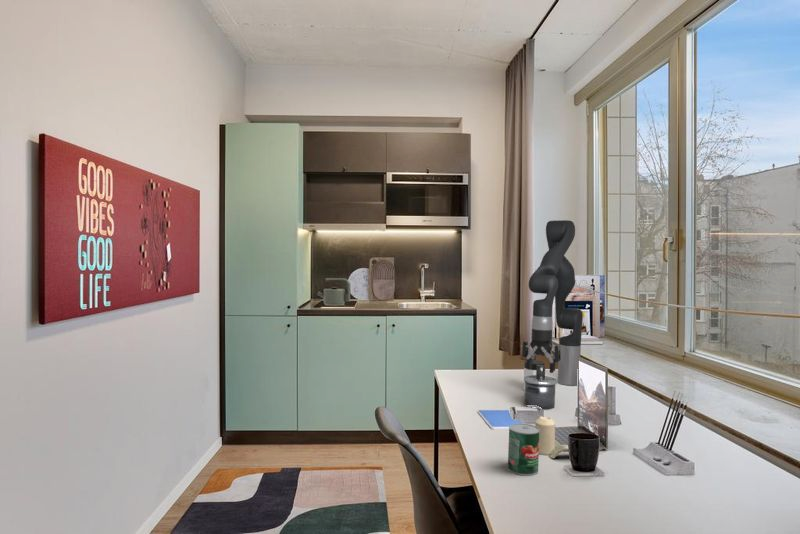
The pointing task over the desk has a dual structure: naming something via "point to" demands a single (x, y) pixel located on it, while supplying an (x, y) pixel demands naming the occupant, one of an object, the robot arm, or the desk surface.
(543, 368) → the lid
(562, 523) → the desk surface
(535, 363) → the jar
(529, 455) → the canned tomato
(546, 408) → the pot
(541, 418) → the candle
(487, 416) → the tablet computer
